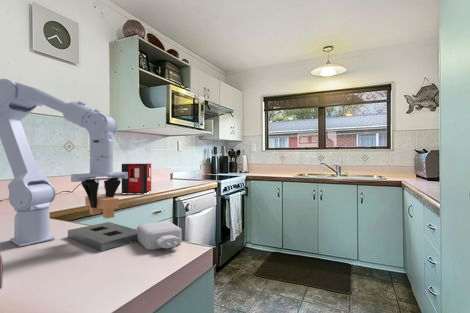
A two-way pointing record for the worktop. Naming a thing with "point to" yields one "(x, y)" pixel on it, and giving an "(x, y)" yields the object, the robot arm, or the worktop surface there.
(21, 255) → the worktop surface
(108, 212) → the clip
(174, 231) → the charger
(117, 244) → the gray rectangular slab
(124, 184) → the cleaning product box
